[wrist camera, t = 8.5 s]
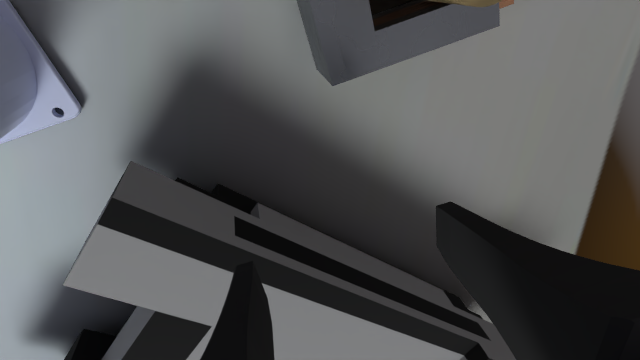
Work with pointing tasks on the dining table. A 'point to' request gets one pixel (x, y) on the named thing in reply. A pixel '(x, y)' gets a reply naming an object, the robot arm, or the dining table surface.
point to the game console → (276, 277)
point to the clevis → (385, 32)
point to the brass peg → (470, 2)
